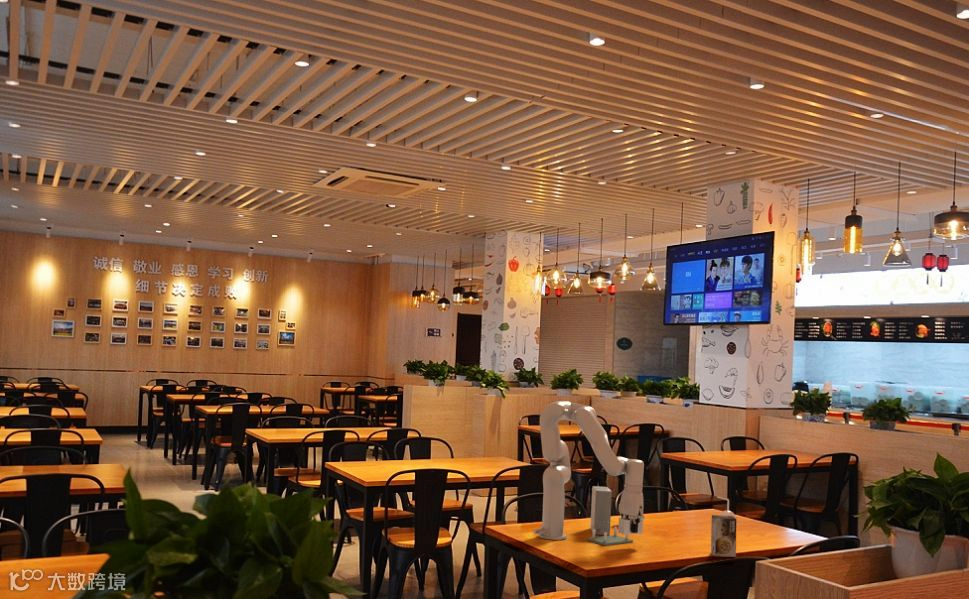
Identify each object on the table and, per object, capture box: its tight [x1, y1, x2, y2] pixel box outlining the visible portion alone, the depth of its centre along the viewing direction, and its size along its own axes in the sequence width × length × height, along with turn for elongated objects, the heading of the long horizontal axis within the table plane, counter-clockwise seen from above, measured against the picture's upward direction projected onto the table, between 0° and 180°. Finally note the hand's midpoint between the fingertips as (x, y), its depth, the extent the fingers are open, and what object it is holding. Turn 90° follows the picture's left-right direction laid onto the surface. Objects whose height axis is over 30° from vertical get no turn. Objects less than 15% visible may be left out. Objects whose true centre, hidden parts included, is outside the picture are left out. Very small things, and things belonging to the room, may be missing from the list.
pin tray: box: [587, 526, 634, 547], centre depth 377 cm, size 17×11×5 cm, turn 126°
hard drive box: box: [590, 485, 613, 536], centre depth 397 cm, size 16×8×20 cm, turn 179°
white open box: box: [617, 517, 644, 536], centre depth 367 cm, size 10×4×6 cm, turn 120°
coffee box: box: [710, 514, 738, 558], centre depth 362 cm, size 9×6×16 cm
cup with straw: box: [716, 495, 738, 520], centre depth 391 cm, size 8×9×20 cm
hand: (630, 530), depth 367 cm, fingers closed on white open box, 4 cm apart
